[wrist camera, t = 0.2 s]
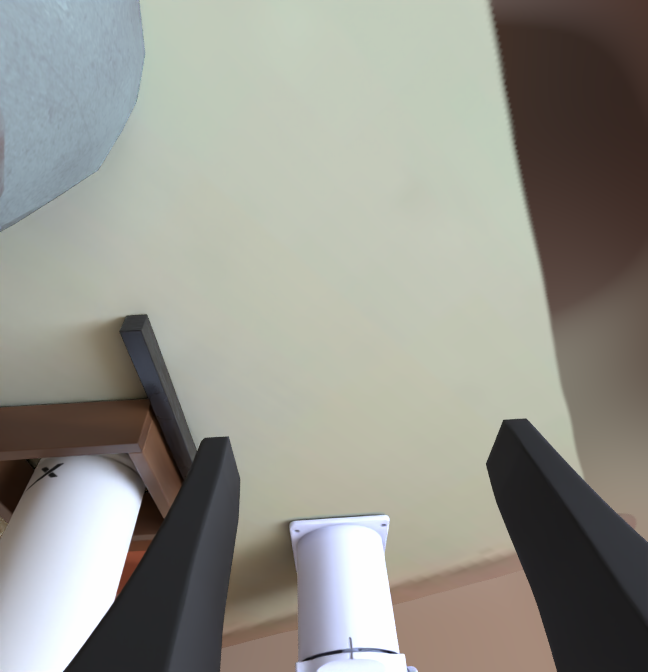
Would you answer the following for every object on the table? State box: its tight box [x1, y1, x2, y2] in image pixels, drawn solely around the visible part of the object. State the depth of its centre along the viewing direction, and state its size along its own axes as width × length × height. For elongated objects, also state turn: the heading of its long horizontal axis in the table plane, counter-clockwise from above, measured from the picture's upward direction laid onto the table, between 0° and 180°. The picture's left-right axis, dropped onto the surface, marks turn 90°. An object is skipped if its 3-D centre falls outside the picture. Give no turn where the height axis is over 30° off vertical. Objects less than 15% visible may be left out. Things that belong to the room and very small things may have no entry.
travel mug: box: [0, 453, 146, 672], centre depth 20 cm, size 6×7×20 cm
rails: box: [120, 315, 197, 480], centre depth 27 cm, size 20×13×1 cm, turn 1°
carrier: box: [0, 399, 184, 601], centre depth 29 cm, size 18×10×4 cm, turn 1°
